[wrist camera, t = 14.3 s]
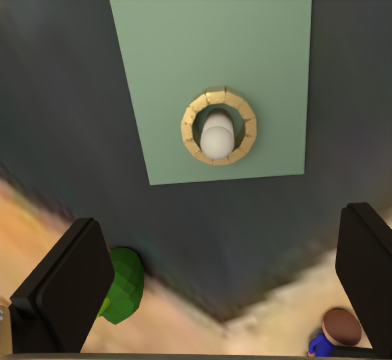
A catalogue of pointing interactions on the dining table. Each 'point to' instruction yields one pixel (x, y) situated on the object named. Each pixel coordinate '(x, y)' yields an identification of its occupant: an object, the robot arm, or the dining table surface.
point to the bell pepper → (123, 286)
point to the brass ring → (213, 97)
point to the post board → (217, 82)
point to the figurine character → (339, 338)
